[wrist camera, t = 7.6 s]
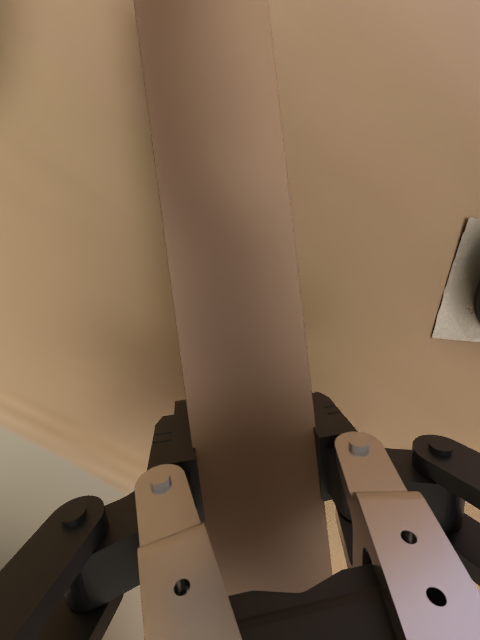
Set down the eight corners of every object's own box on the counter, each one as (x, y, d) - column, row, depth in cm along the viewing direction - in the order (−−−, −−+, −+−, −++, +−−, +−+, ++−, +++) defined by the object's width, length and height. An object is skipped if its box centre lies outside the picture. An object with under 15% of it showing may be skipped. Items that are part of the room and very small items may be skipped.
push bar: (232, 14, 14) (250, -154, 9) (296, 557, 15) (344, 681, 10) (145, 16, 13) (112, -160, 8) (218, 574, 14) (227, 714, 9)
